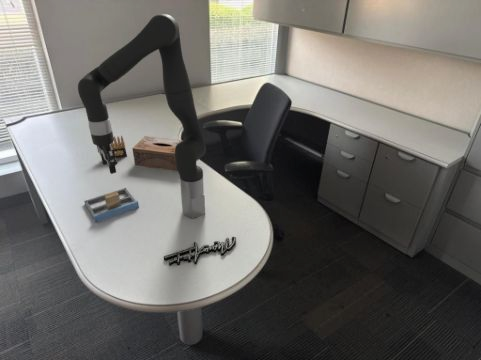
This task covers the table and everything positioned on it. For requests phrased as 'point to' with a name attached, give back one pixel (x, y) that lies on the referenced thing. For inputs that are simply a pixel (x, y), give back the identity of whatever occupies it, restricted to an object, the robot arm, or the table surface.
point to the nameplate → (199, 252)
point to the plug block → (112, 200)
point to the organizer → (113, 211)
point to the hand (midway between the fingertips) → (109, 168)
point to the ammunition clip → (119, 147)
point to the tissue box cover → (156, 153)
